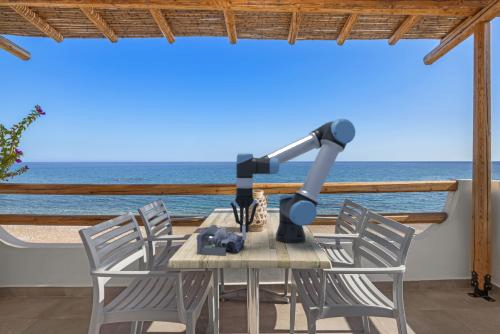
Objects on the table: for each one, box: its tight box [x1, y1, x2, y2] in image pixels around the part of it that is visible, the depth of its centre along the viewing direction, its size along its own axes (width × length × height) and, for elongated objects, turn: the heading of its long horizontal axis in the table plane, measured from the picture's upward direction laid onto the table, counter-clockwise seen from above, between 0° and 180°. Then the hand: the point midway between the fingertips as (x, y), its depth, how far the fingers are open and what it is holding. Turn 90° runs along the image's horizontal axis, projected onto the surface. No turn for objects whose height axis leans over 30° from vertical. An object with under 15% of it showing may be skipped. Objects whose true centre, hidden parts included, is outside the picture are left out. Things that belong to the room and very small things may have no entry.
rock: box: [221, 231, 246, 253], centre depth 132 cm, size 14×10×10 cm
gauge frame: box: [196, 224, 227, 257], centre depth 135 cm, size 12×23×8 cm, turn 170°
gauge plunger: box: [208, 226, 228, 247], centre depth 136 cm, size 12×21×8 cm, turn 170°
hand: (244, 239), depth 133 cm, fingers closed
